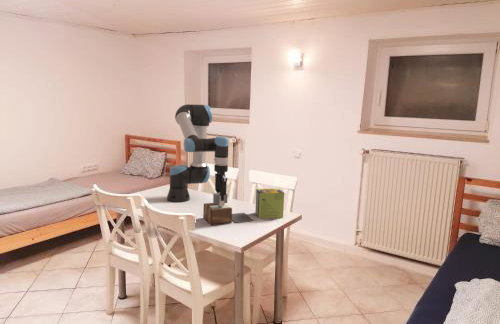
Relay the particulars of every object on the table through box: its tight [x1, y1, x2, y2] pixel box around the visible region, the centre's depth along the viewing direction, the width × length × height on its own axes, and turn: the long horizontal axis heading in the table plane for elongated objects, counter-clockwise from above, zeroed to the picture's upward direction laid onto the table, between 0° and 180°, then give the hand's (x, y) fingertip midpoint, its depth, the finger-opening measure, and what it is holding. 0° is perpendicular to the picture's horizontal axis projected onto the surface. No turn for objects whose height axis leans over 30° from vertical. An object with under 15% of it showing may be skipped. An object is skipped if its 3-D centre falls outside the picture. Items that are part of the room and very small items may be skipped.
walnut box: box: [202, 202, 233, 227], centre depth 201 cm, size 14×12×9 cm
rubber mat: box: [232, 212, 255, 224], centre depth 208 cm, size 15×12×1 cm
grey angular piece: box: [209, 192, 229, 209], centre depth 200 cm, size 11×10×9 cm
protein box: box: [254, 188, 285, 219], centre depth 213 cm, size 10×15×16 cm
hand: (220, 204), depth 201 cm, fingers closed on grey angular piece, 4 cm apart
